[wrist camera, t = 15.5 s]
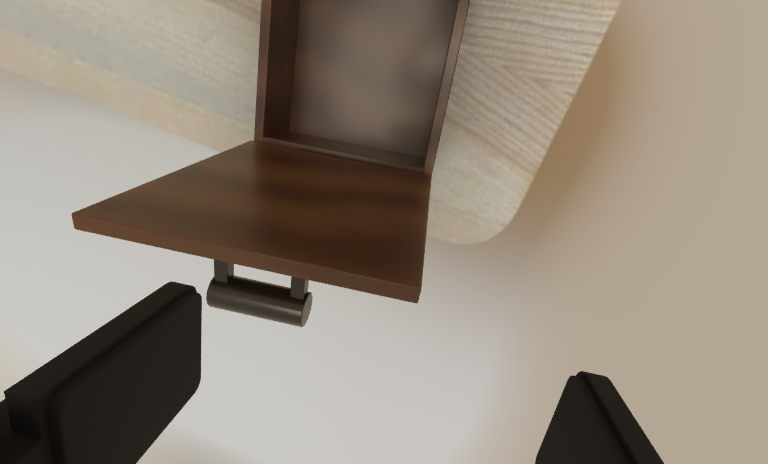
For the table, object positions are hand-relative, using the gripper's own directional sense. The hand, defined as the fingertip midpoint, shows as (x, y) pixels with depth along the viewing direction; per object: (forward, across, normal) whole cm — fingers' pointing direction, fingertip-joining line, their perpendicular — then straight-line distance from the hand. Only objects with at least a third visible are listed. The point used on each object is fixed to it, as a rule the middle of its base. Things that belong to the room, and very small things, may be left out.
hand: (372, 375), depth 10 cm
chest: (+31, +7, -9) cm, 33 cm away
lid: (+15, +7, 0) cm, 16 cm away
